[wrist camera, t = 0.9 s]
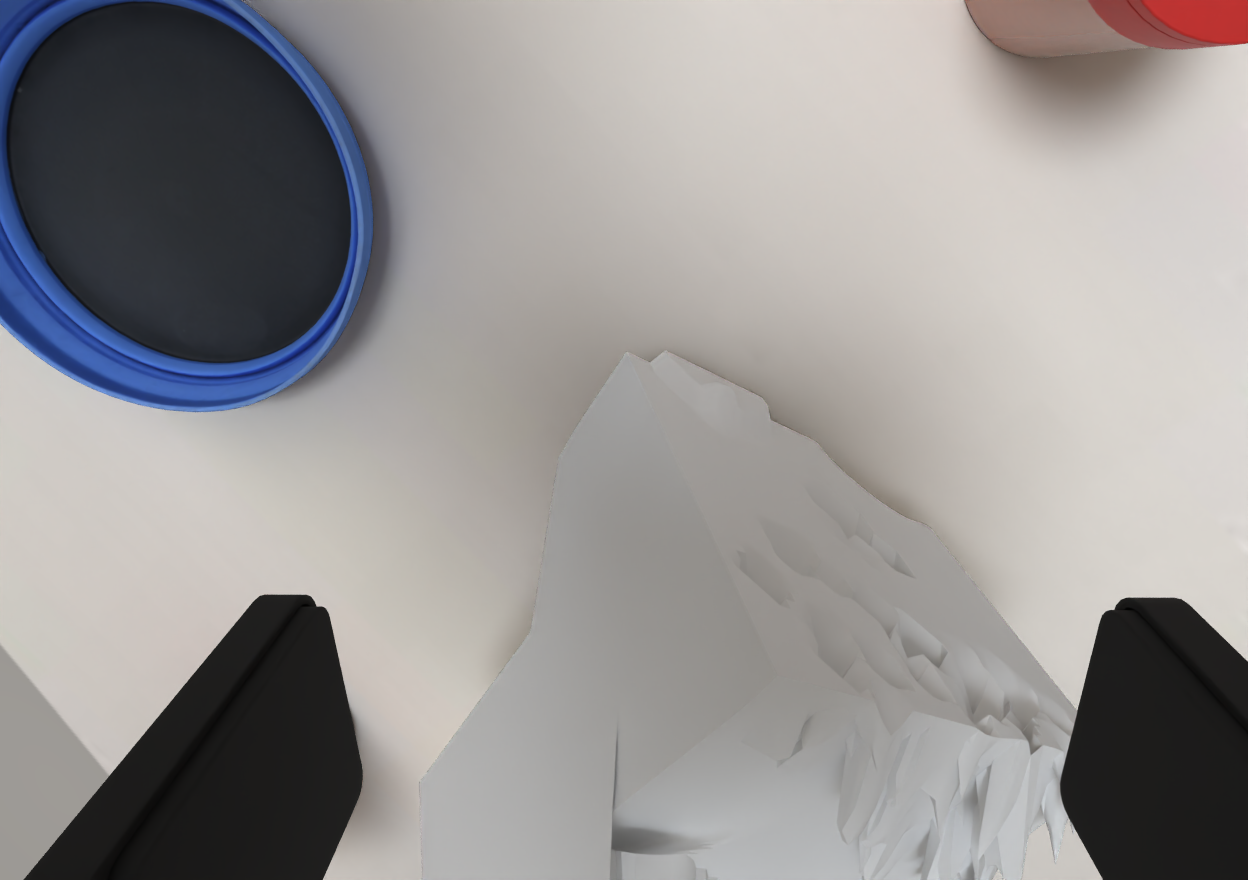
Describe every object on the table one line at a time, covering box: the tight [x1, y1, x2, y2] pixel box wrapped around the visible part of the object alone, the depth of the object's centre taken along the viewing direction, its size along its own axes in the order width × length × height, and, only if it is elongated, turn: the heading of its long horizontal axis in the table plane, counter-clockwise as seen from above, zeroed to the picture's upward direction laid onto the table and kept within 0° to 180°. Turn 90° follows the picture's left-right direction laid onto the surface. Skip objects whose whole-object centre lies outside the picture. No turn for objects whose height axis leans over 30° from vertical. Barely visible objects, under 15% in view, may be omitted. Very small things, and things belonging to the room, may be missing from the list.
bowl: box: [0, 0, 373, 412], centre depth 33 cm, size 18×18×4 cm
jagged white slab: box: [419, 350, 1077, 880], centre depth 31 cm, size 20×16×25 cm
